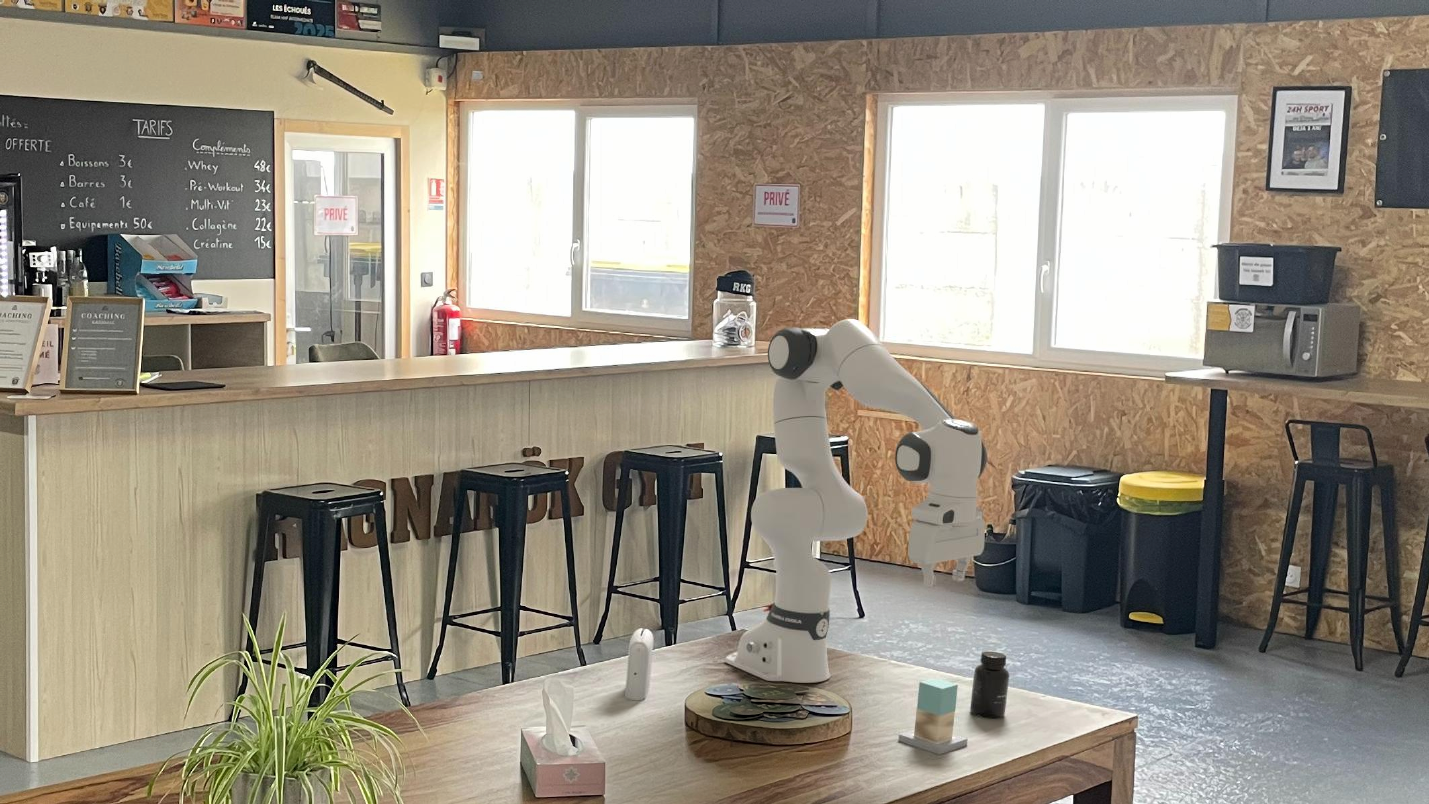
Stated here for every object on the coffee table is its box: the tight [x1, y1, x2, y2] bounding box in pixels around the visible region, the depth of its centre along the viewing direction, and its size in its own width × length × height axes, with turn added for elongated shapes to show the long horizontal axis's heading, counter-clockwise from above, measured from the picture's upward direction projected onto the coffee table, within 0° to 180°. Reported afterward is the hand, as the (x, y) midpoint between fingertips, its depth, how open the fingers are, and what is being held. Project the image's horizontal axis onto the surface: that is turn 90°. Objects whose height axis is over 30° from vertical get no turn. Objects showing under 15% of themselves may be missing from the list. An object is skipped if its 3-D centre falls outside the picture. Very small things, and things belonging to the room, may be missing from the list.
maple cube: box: [914, 708, 956, 742], centre depth 290 cm, size 5×5×5 cm
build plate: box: [898, 728, 968, 755], centre depth 290 cm, size 9×9×1 cm
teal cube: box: [916, 677, 959, 716], centre depth 289 cm, size 5×5×5 cm
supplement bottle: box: [969, 650, 1010, 719], centre depth 310 cm, size 7×7×12 cm
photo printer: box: [624, 628, 654, 701], centre depth 305 cm, size 10×4×12 cm, turn 177°
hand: (943, 583), depth 291 cm, fingers open, 8 cm apart
